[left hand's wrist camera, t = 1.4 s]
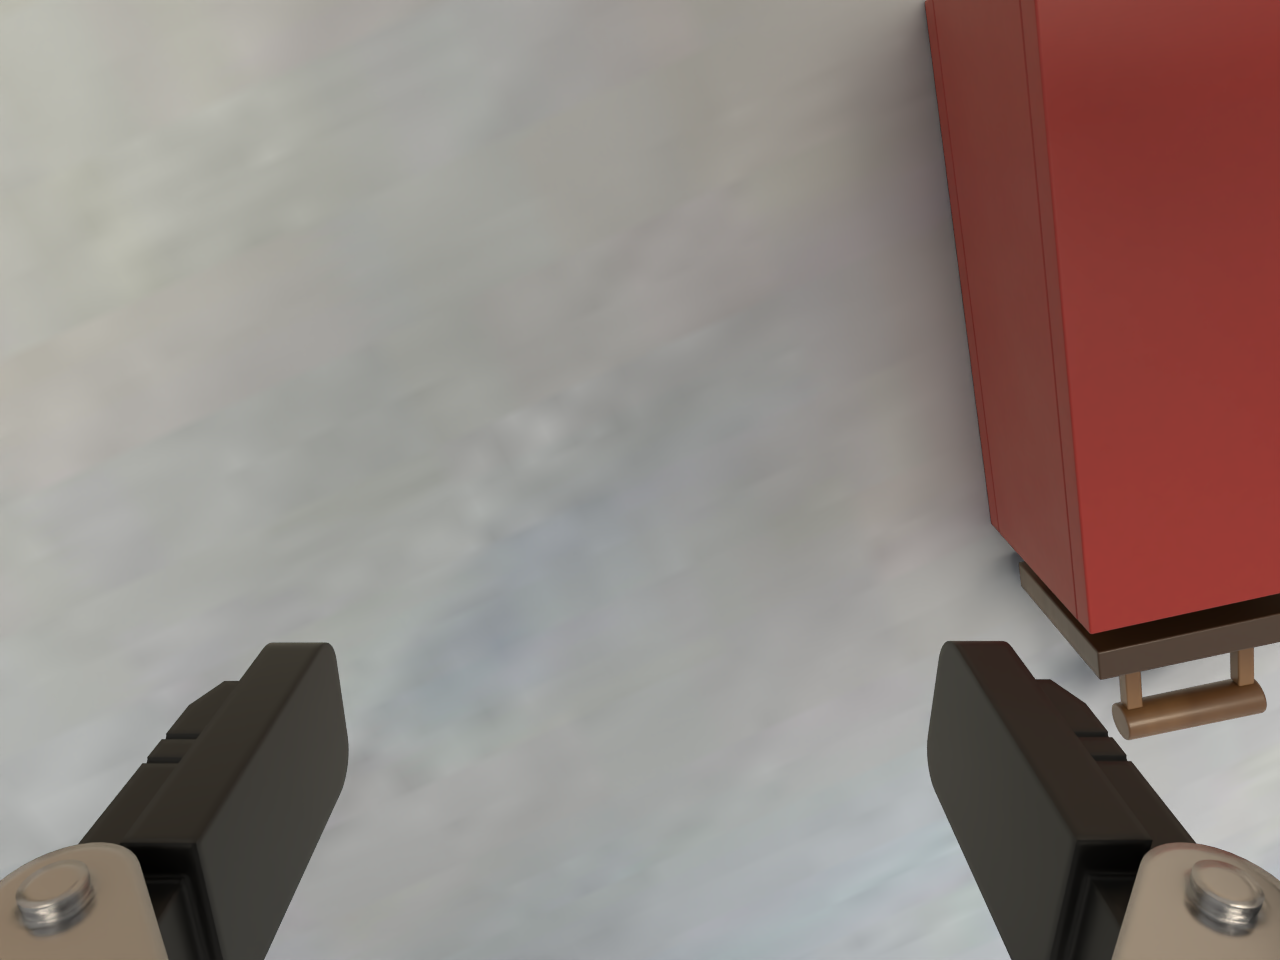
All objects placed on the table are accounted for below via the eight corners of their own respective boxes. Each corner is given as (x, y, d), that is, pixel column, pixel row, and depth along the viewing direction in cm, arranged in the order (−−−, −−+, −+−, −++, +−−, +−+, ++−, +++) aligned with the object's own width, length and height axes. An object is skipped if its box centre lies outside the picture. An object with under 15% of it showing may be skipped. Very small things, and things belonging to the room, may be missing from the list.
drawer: (1249, 648, 39) (1372, 751, 32) (1033, 693, 40) (1110, 804, 33) (1243, 39, 30) (1410, 13, 23) (965, 115, 31) (1052, 111, 24)
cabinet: (1247, 465, 37) (1425, 562, 28) (990, 524, 38) (1090, 635, 29) (1241, -91, 29) (1479, -179, 21) (923, 1, 30) (1030, -48, 22)
